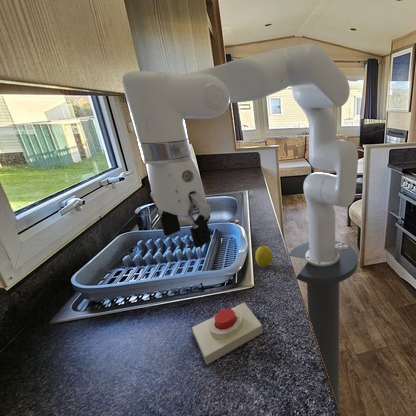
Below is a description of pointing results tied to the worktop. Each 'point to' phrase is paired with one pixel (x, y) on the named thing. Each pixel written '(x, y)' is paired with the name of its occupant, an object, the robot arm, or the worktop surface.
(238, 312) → the switch block
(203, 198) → the robot arm
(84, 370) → the worktop surface
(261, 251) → the lemon
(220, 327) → the button
